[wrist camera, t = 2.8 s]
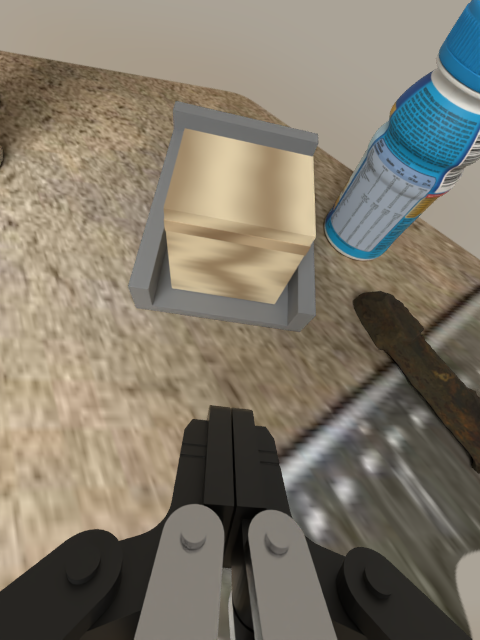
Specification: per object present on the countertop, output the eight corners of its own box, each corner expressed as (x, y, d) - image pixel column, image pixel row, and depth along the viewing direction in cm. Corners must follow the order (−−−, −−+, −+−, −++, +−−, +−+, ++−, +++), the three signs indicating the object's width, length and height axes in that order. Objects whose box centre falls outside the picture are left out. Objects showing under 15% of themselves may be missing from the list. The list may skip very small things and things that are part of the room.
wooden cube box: (171, 288, 27) (162, 208, 18) (185, 222, 30) (184, 127, 21) (275, 304, 28) (316, 237, 19) (277, 239, 31) (313, 156, 22)
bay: (136, 307, 27) (122, 272, 21) (177, 153, 36) (175, 100, 30) (299, 331, 29) (325, 305, 23) (299, 178, 38) (317, 133, 32)
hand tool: (494, 450, 27) (550, 450, 23) (470, 476, 26) (525, 481, 22) (367, 294, 32) (394, 271, 28) (342, 308, 31) (367, 286, 27)
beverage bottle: (320, 255, 33) (478, 25, 15) (322, 202, 37) (452, -34, 19) (387, 270, 34) (617, 70, 16) (383, 218, 37) (565, 5, 19)
